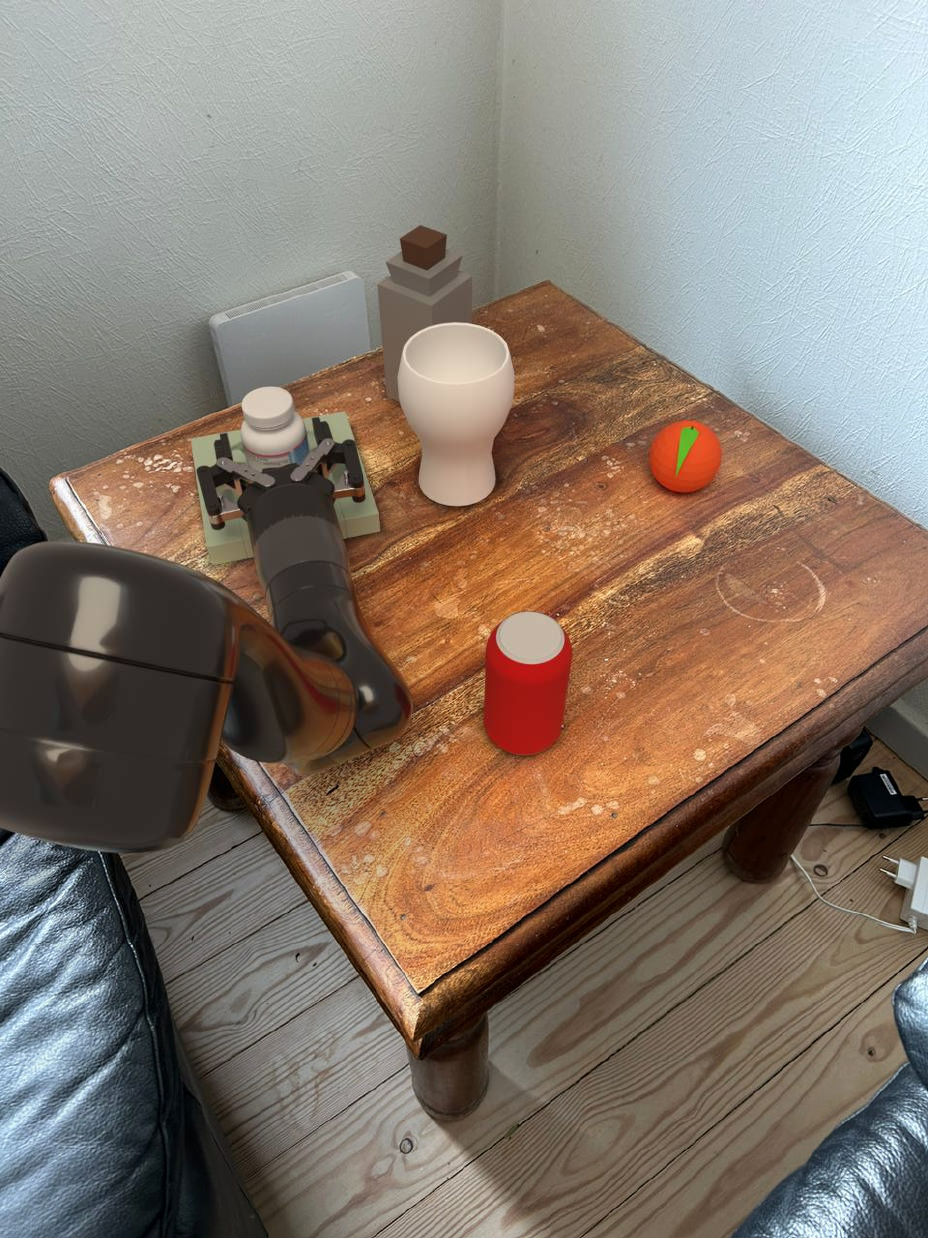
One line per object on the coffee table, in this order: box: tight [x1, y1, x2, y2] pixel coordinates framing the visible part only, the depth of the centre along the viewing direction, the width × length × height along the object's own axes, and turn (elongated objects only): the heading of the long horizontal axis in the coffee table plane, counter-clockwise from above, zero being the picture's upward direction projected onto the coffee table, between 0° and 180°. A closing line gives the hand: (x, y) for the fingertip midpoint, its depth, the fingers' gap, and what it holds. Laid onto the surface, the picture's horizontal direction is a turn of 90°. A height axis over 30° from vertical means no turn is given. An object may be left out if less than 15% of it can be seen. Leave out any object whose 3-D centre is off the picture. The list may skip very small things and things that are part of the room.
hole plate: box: [190, 410, 381, 566], centre depth 91 cm, size 16×16×2 cm
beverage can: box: [483, 610, 573, 756], centre depth 69 cm, size 6×6×12 cm
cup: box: [397, 322, 516, 507], centre depth 87 cm, size 11×11×15 cm
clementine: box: [648, 420, 723, 493], centre depth 89 cm, size 8×7×7 cm
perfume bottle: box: [376, 224, 473, 403], centre depth 95 cm, size 7×7×18 cm
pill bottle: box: [239, 386, 310, 472], centre depth 87 cm, size 6×6×11 cm
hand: (270, 432), depth 86 cm, fingers open, 8 cm apart
